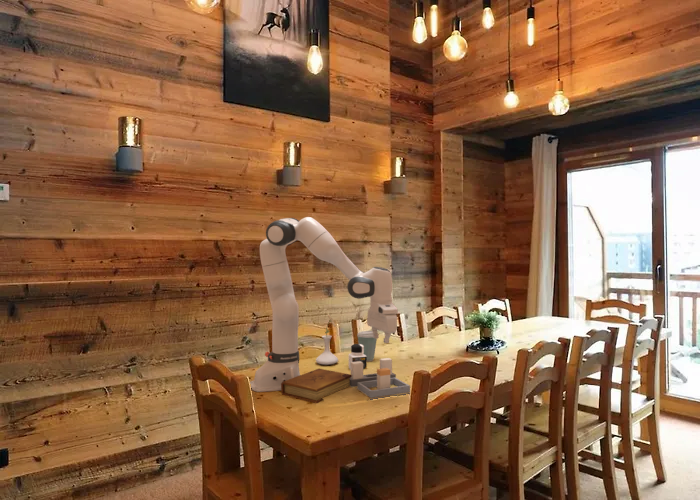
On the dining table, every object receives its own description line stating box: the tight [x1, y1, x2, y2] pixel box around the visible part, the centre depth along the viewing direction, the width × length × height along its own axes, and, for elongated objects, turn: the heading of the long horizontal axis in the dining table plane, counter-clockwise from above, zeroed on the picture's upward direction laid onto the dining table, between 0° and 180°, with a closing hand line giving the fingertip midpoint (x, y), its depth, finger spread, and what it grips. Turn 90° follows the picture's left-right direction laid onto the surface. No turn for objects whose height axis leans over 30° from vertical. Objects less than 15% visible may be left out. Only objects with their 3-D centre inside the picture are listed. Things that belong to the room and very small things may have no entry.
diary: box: [280, 368, 352, 404], centre depth 201 cm, size 23×19×6 cm
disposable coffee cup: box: [356, 330, 378, 362], centre depth 251 cm, size 11×11×15 cm
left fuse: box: [350, 361, 364, 379], centre depth 208 cm, size 4×3×9 cm, turn 112°
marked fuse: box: [376, 368, 391, 390], centre depth 198 cm, size 4×3×9 cm, turn 113°
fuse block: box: [349, 372, 397, 388], centre depth 211 cm, size 22×7×4 cm, turn 113°
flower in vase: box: [315, 313, 339, 366], centre depth 245 cm, size 13×11×25 cm
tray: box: [356, 377, 411, 401], centre depth 198 cm, size 18×13×4 cm
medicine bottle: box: [348, 343, 368, 371], centre depth 234 cm, size 7×7×12 cm
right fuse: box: [379, 357, 393, 374], centre depth 213 cm, size 4×3×9 cm, turn 113°
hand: (381, 340), depth 199 cm, fingers open, 8 cm apart
